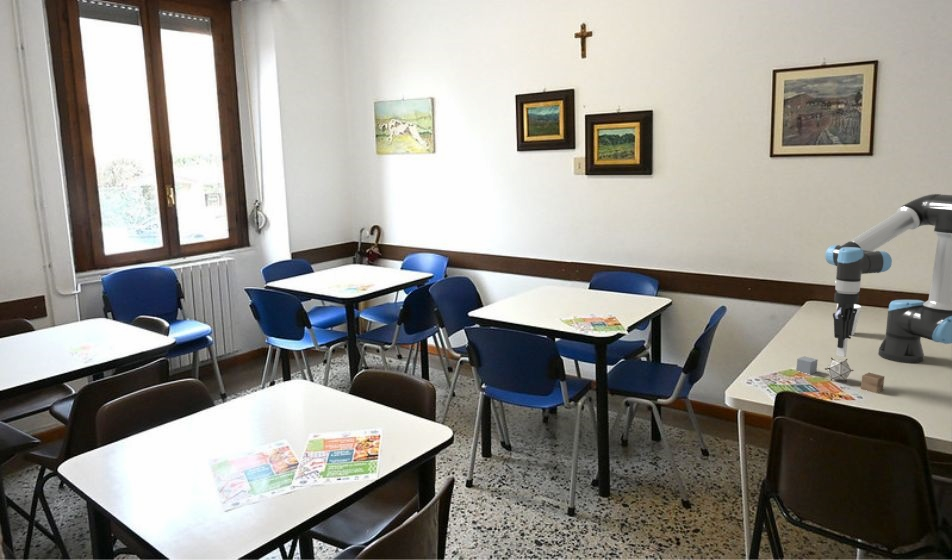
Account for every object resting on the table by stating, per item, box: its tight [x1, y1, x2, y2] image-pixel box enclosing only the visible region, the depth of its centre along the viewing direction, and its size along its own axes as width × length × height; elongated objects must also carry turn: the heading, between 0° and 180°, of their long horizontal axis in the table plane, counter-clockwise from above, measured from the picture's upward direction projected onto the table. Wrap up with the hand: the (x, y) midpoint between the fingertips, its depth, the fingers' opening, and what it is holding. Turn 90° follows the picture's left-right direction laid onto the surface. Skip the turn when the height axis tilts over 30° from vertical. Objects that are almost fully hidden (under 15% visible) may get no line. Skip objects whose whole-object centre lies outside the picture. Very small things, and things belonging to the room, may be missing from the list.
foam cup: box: [836, 303, 862, 336], centre depth 292 cm, size 10×9×13 cm
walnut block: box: [860, 372, 885, 394], centre depth 227 cm, size 5×5×5 cm
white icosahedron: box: [824, 357, 854, 383], centre depth 236 cm, size 9×8×10 cm
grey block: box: [796, 356, 819, 375], centre depth 245 cm, size 5×5×5 cm
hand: (841, 355), depth 235 cm, fingers closed
